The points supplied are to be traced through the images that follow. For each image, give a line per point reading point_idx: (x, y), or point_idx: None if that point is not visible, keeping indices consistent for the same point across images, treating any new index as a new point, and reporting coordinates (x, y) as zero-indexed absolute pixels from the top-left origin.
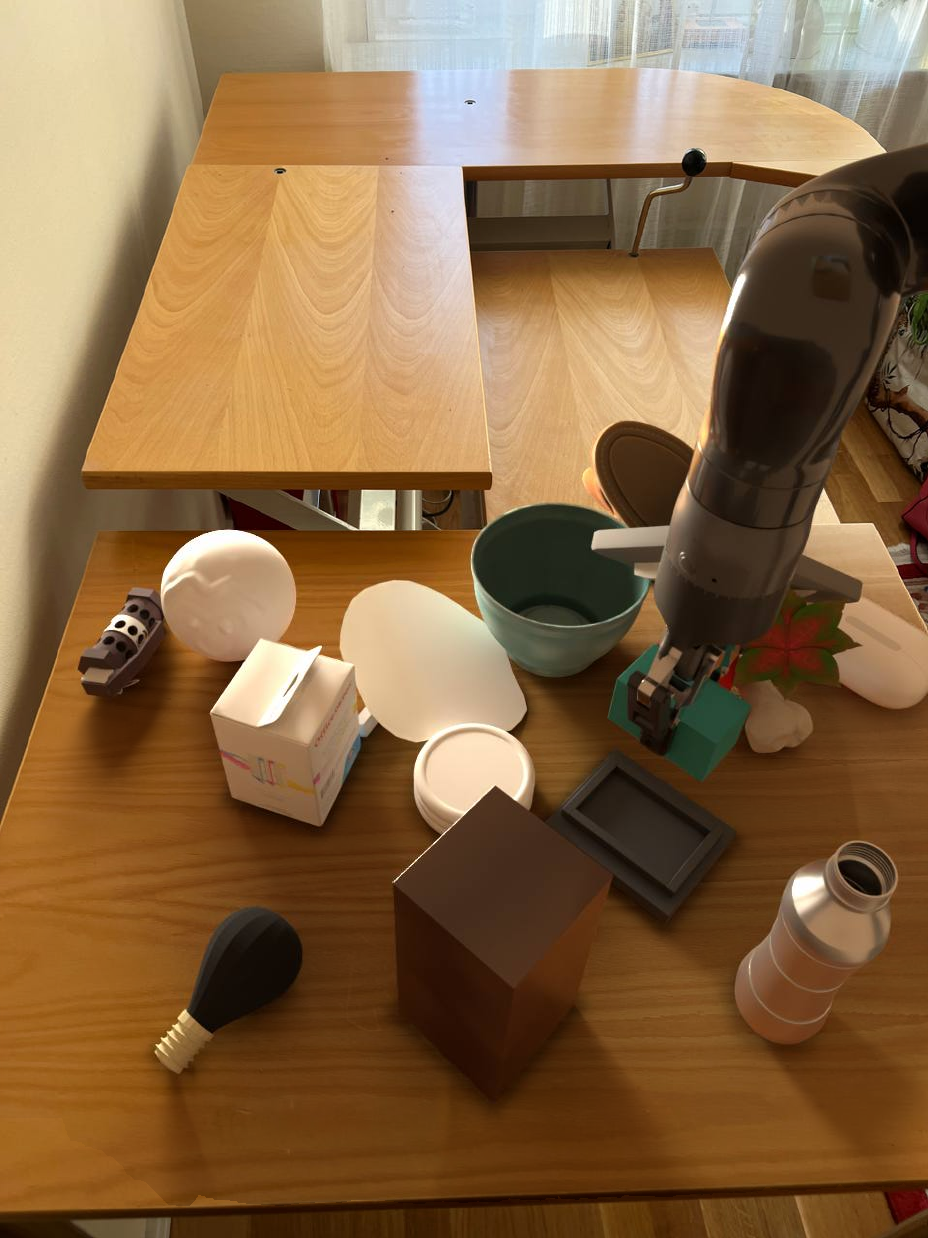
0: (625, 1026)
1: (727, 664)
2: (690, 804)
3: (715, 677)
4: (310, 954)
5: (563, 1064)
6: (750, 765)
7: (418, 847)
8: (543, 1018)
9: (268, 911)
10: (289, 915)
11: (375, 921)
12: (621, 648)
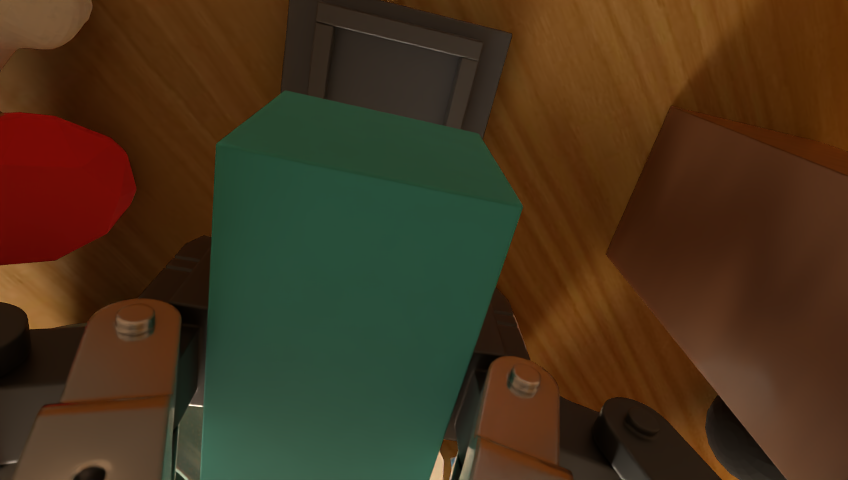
0: (680, 26)
1: (168, 424)
2: (291, 79)
3: (182, 318)
4: (699, 375)
5: (753, 84)
6: (123, 2)
7: (538, 353)
8: (843, 158)
9: (749, 468)
10: (665, 409)
11: (643, 345)
12: (72, 286)
